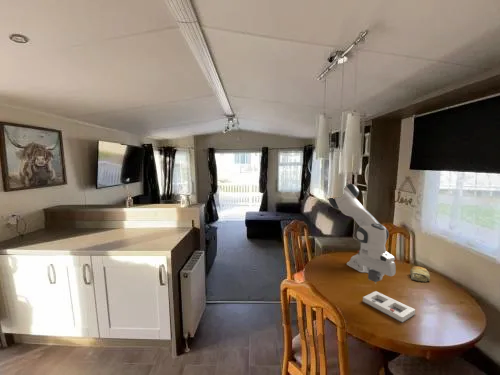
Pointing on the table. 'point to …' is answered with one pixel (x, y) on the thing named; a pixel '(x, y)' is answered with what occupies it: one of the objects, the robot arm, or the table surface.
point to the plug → (373, 275)
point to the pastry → (419, 274)
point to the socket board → (389, 306)
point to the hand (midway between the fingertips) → (375, 277)
